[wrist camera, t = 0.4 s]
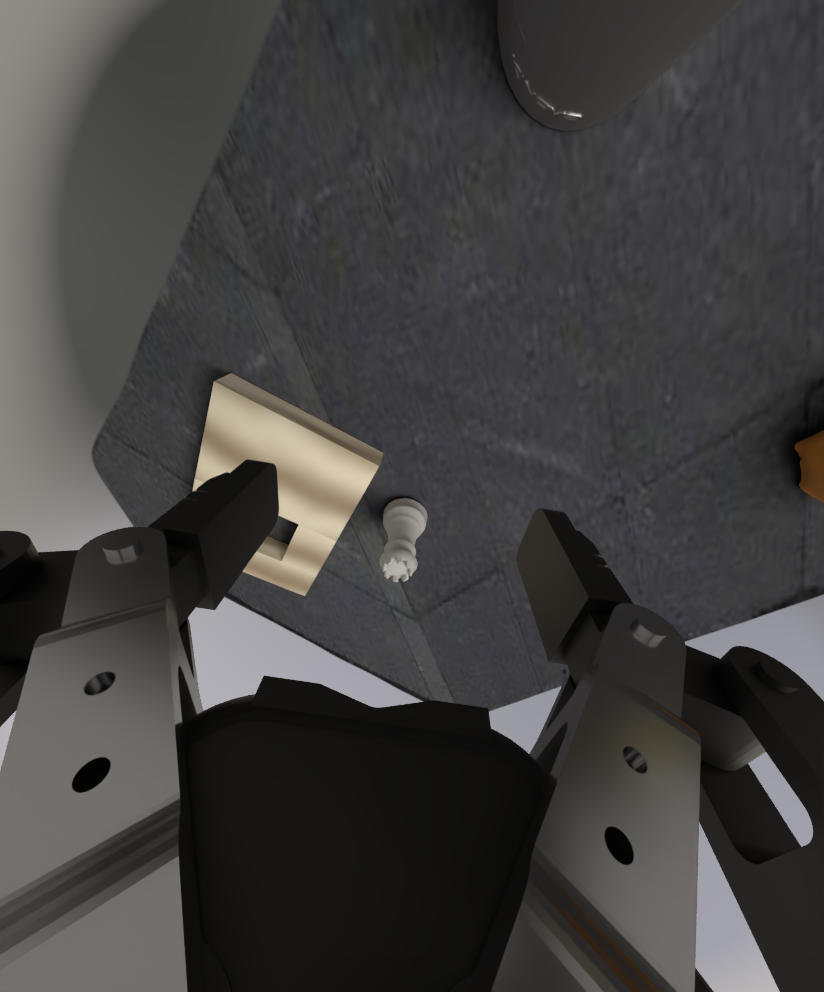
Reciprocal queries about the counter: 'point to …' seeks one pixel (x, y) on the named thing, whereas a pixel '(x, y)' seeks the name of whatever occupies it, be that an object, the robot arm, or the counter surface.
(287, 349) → the counter surface
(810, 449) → the coffee package
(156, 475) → the counter surface
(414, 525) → the rook chess piece
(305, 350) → the counter surface
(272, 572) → the socket block
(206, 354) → the counter surface
